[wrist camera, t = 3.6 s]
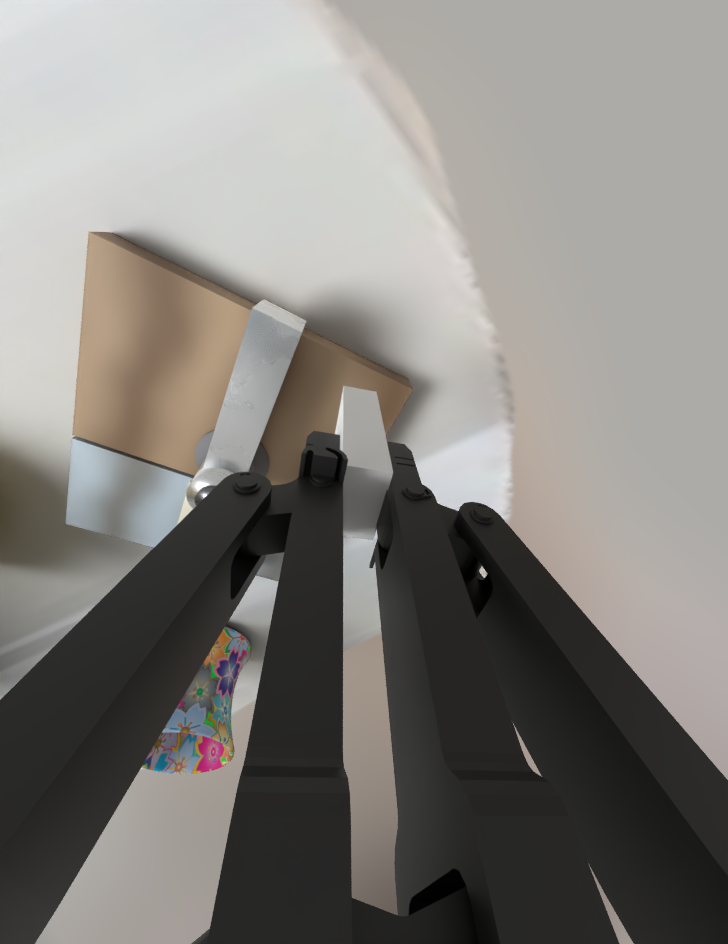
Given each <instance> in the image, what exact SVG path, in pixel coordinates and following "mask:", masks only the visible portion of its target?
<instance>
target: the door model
mask: <svg viewBox="0 0 728 944" xmlns="http://www.w3.org/2000/svg"><path fill="white" fill-rule="evenodd" d="M255 305H256V304H254V303H252V302H250V301H248V300H246V299H244V298H242V297H240V296H238V295H236V294H234V293H232V292H230V291H228V290H226V289H224V288H222V287H220V286H218V285H216V284H214V283H212V282H210V281H208V280H206V279H204V278H202V277H200V276H198V275H196V274H193V273H191V272H189V271H187V270H185V269H183V268H181V267H179V266H177V265H175V264H173V263H171V262H169V261H167V260H165V259H163V258H161V257H159V256H157V255H155V254H153V253H151V252H149V251H147V250H145V249H143V248H141V247H139V246H137V245H135V244H133V243H131V242H129V241H127V240H125V239H123V238H121V237H119V236H116V235H114V234H112V233H110V232H89V234H88V247H87V259H86V272H85V284H84V297H83V309H82V322H81V334H80V347H79V359H78V372H77V384H76V397H75V409H74V422H73V434H72V435H74V436H75V437H74V438H72V447H71V459H70V472H69V485H68V497H67V510H66V522H65V524H68V525H71V526H75V527H79V528H83V529H86V530H90V531H94V532H97V533H101V534H105V535H109V536H112V537H116V538H120V539H123V540H127V541H131V542H135V543H138V544H142V545H146V546H149V547H153V548H154V547H155V546H156V545H157V544H158V543H159V542H160V541H161V540H162V539H163V538H164V537H165V536H166V535H167V534H168V533H170V532H171V531H172V530H173V529H174V528H175V527H176V526H177V525H178V524H179V523H180V522H181V521H182V520H183V519H184V518H185V517H186V516H187V515H188V514H189V513H190V512H191V511H192V510H193V508H192V507H191V506H190V504H189V503H188V501H187V497H186V491H187V488H188V486H189V485H190V483H191V481H192V480H193V478H194V477H195V475H196V473H197V472H198V470H199V468H200V467H201V465H202V463H203V462H204V460H205V459H206V456H207V453H208V450H209V447H210V443H211V440H212V437H213V434H214V430H215V427H216V424H217V421H218V417H219V414H220V411H221V408H222V404H223V401H224V398H225V395H226V391H227V388H228V385H229V382H230V378H231V375H232V372H233V369H234V365H235V362H236V359H237V356H238V352H239V349H240V346H241V343H242V339H243V336H244V333H245V330H246V326H247V323H248V320H249V317H250V313H251V310H252V308H253V307H254V306H255ZM343 386H348V387H354V388H359V389H364V390H370V391H375V392H377V396H378V401H379V406H380V410H381V415H382V420H383V425H384V430H385V435H387V433H388V431H389V430H390V428H391V426H392V425H393V423H394V421H395V419H396V418H397V416H398V414H399V413H400V411H401V409H402V408H403V406H404V404H405V402H406V401H407V399H408V397H409V396H410V394H411V392H412V391H413V388H412V386H411V384H410V382H409V380H408V379H406V378H404V377H402V376H400V375H398V374H396V373H394V372H392V371H390V370H388V369H386V368H384V367H382V366H380V365H378V364H376V363H374V362H372V361H370V360H368V359H366V358H364V357H362V356H360V355H358V354H356V353H354V352H352V351H350V350H348V349H346V348H343V347H341V346H339V345H337V344H335V343H333V342H331V341H329V340H327V339H325V338H323V337H321V336H319V335H317V334H315V333H313V332H311V331H309V330H307V329H305V328H304V329H303V332H302V334H301V337H300V339H299V342H298V345H297V347H296V350H295V352H294V355H293V357H292V360H291V363H290V365H289V368H288V370H287V373H286V376H285V378H284V381H283V383H282V386H281V388H280V391H279V394H278V396H277V399H276V401H275V404H274V407H273V409H272V412H271V414H270V417H269V419H268V422H267V425H266V427H265V430H264V432H263V435H262V437H261V440H260V443H259V445H258V448H257V450H256V453H255V456H254V458H253V460H254V464H255V469H254V473H258V474H261V475H263V476H265V477H266V478H267V479H268V480H270V482H271V485H281V484H286V483H289V482H292V481H294V480H295V479H297V478H298V476H299V469H300V462H301V454H302V451H303V450H304V449H305V446H306V440H307V436H308V435H309V434H311V433H312V432H313V431H319V432H325V433H332V434H335V430H336V425H337V419H338V414H339V408H340V403H341V397H342V391H343ZM283 556H284V552H282V553H275V554H269V555H266V557H265V560H264V562H263V564H262V565H261V567H260V569H259V570H258V572H257V574H256V575H257V576H261V577H264V578H268V579H272V580H276V581H279V578H280V572H281V567H282V562H283Z"/></svg>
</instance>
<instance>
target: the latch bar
mask: <svg viewBox="0 0 728 944" xmlns="http://www.w3.org/2000/svg"><path fill="white" fill-rule="evenodd" d="M305 324H306V320H304V319H302V318H300V317H298V316H296V315H294V314H292V313H290V312H288V311H286V310H284V309H282V308H280V307H278V306H276V305H274V304H272V303H270V302H268V301H266V300H264V299H263V300H262V301H260V302H259V303H258V304H257V305H255V306H254V307H253V308H252V310H251V313H250V317H249V320H248V323H247V326H246V330H245V333H244V336H243V339H242V343H241V346H240V349H239V352H238V356H237V359H236V362H235V365H234V369H233V372H232V375H231V378H230V382H229V385H228V388H227V391H226V395H225V398H224V401H223V404H222V408H221V411H220V414H219V417H218V421H217V424H216V427H215V430H214V434H213V437H212V440H211V443H210V447H209V450H208V453H207V456H206V459H205V460H204V462H203V463H202V465H201V467H200V468H199V470H198V472H197V473H196V475H195V477H194V478H193V480H192V481H191V483H190V485H189V486H188V488H187V491H186V497H187V501H188V503H189V504H190V506H191V507H192V508H193V509H194V508H195V507H196V506H197V505H198V504H199V503H200V502H201V501H202V500H203V499H204V498H205V497H206V496H207V495H208V494H209V493H210V492H211V491H212V490H213V489H214V488H215V487H216V486H217V485H218V484H219V483H220V482H221V481H222V480H223V479H224V478H226V477H227V476H229V475H230V474H234V473H237V472H254V469H255V464H254V460H253V458H254V456H255V453H256V450H257V448H258V445H259V443H260V440H261V437H262V435H263V432H264V430H265V427H266V425H267V422H268V419H269V417H270V414H271V412H272V409H273V407H274V404H275V401H276V399H277V396H278V394H279V391H280V388H281V386H282V383H283V381H284V378H285V376H286V373H287V370H288V368H289V365H290V363H291V360H292V357H293V355H294V352H295V350H296V347H297V345H298V342H299V339H300V337H301V334H302V332H303V329H304V327H305Z"/></svg>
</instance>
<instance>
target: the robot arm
mask: <svg viewBox="0 0 728 944" xmlns="http://www.w3.org/2000/svg"><path fill="white" fill-rule="evenodd" d="M376 529H377V534H378V539H377V542H376V546H375V549H374V552H373V555H372V559H371V562H370V567H369V568H373V565H374V563H375V564H376V575H377V586H378V597H379V608H380V619H381V630H382V641H383V653H384V663H385V674H386V686H387V697H388V706H389V707H388V708H389V719H390V730H391V741H392V752H393V763H394V774H395V786H396V796H397V807H398V830H397V838H396V845H395V883H396V895H397V908H398V915H394V914H392V913H389V912H387V911H384V910H382V909H379V908H377V907H374V906H371V905H369V904H366V903H364V902H361V901H358V900H356V899H353V898H352V896H351V816H350V815H351V813H350V792H349V785H348V777H347V775H346V772H345V769H344V764H343V536H345V537H353V538H361V539H370V540H373V539H374V536H375V532H376ZM282 552H284V556H283V562H282V567H281V572H280V578H279V583H278V588H277V593H276V599H275V604H274V609H273V615H272V620H271V625H270V630H269V636H268V641H267V646H266V651H265V657H264V662H263V667H262V673H261V678H260V683H259V688H258V694H257V699H256V704H255V710H254V715H253V720H252V726H251V731H250V736H249V742H248V747H247V752H246V757H245V761H244V766H243V769H242V772H241V776H240V780H239V784H238V788H237V793H236V798H235V803H234V808H233V813H232V818H231V823H230V828H229V834H228V839H227V844H226V849H225V854H224V859H223V864H222V870H221V875H220V880H219V885H218V890H217V895H216V900H215V905H214V911H213V916H212V921H211V926H210V929H209V930H208V931H206V932H205V933H204V934H203V935H202V936H201V937H199V938H198V939H197V940H195V941H194V942H193V943H192V944H619V942H618V939H617V937H616V934H615V931H614V929H613V926H612V924H611V921H610V919H609V916H608V913H607V911H606V908H605V906H604V903H603V901H602V898H601V895H600V893H599V890H598V888H597V885H596V883H595V880H594V877H593V875H592V873H591V869H592V870H593V872H594V874H595V876H596V878H597V880H598V882H599V884H600V885H601V887H602V889H603V891H604V893H605V895H606V896H607V898H608V900H609V902H610V903H611V905H612V907H613V908H614V910H615V912H616V914H617V915H618V917H619V919H620V921H621V922H622V924H623V926H624V927H625V929H626V931H627V933H628V935H629V936H630V938H631V939H632V941H633V943H634V944H728V780H727V779H726V778H725V777H724V775H723V774H722V773H721V772H720V771H719V770H718V769H717V767H716V766H715V765H714V764H713V763H712V762H711V760H710V759H709V758H708V757H707V756H706V755H705V753H704V752H703V751H702V750H701V749H700V748H699V746H698V745H697V744H696V743H695V742H694V741H693V740H692V738H691V737H690V736H689V735H688V734H687V733H686V732H685V730H684V729H683V728H682V727H681V726H680V725H679V723H678V722H677V721H676V720H675V719H674V717H673V716H672V715H671V714H670V713H669V712H668V710H667V709H666V708H665V707H664V706H663V705H662V703H661V702H660V701H659V700H658V699H657V698H656V696H655V695H654V694H653V693H652V692H651V691H650V690H649V688H648V687H647V686H646V685H645V684H644V683H643V681H642V680H641V679H640V678H639V677H638V676H637V674H636V673H635V672H634V671H633V670H632V669H631V667H630V666H629V665H628V664H627V663H626V662H625V660H624V659H623V658H622V657H621V656H620V655H619V653H617V651H616V650H615V649H614V648H613V647H612V645H611V644H610V643H609V642H608V641H607V640H606V638H605V637H604V636H603V635H602V634H601V633H600V631H599V630H598V629H597V628H596V627H595V626H594V624H592V622H591V621H590V620H589V619H588V618H587V616H586V615H585V614H584V613H583V612H582V610H581V609H580V608H579V607H578V606H577V605H576V603H575V602H574V601H573V600H572V599H571V598H570V597H569V595H568V594H567V593H566V592H565V591H564V590H563V589H562V587H561V586H560V585H559V584H558V583H557V581H556V580H555V579H554V578H553V577H552V576H551V574H550V573H549V572H548V571H547V570H546V569H545V567H543V565H542V564H541V563H540V562H539V561H538V559H537V558H536V557H535V556H534V555H533V554H532V552H531V551H530V550H529V549H528V548H527V547H526V545H525V544H524V543H523V542H522V541H521V540H520V538H519V537H518V536H517V535H516V534H515V533H514V531H513V530H512V529H511V528H510V527H509V526H508V524H507V523H506V522H505V521H504V520H503V519H502V518H501V516H500V515H499V514H498V513H496V512H495V511H494V510H493V509H491V508H489V507H488V506H486V505H484V504H480V503H475V502H468V503H464V504H463V505H462V506H461V507H460V509H459V511H456V510H453V509H450V508H447V507H445V506H442V505H440V504H438V503H437V501H436V499H435V496H434V494H433V493H432V491H431V490H430V489H428V488H427V487H426V486H424V485H422V484H421V481H420V477H419V474H418V471H417V468H416V465H415V461H414V458H413V455H412V452H411V451H410V450H409V449H408V448H407V447H406V446H405V444H399V443H393V442H387V440H386V435H385V430H384V425H383V420H382V415H381V410H380V406H379V401H378V396H377V392H375V391H370V390H364V389H359V388H354V387H348V386H343V391H342V397H341V403H340V408H339V414H338V419H337V425H336V430H335V434H332V433H325V432H319V431H313V432H312V433H311V434H309V435H308V436H307V440H306V446H305V449H304V450H303V451H302V454H301V462H300V469H299V476H298V478H297V479H295V480H294V481H292V482H289V483H286V484H281V485H271V482H270V480H268V479H267V478H266V477H265V476H263V475H261V474H258V473H254V472H237V473H234V474H230V475H229V476H227V477H226V478H224V479H223V480H222V481H221V482H220V483H219V484H218V485H217V486H216V487H215V488H214V489H213V490H212V491H211V492H210V493H209V494H208V495H207V496H206V497H205V498H204V499H203V500H202V501H201V502H200V503H199V504H198V505H197V506H196V507H195V508H194V509H193V510H192V511H191V512H190V513H189V514H188V515H187V516H186V517H185V518H184V519H183V520H182V521H181V522H180V523H179V524H178V525H177V526H176V527H175V528H174V529H173V530H172V531H171V532H170V533H168V534H167V535H166V536H165V537H164V538H163V539H162V540H161V541H160V542H159V543H158V544H157V545H156V546H155V547H154V548H153V549H152V550H151V551H150V552H149V553H148V554H147V555H146V556H145V557H144V558H143V559H142V560H141V561H140V562H139V563H138V564H137V565H136V566H135V567H134V568H133V569H132V570H131V571H130V572H129V573H128V574H127V575H126V576H125V577H124V578H123V579H122V580H121V581H120V582H119V583H118V584H117V585H116V586H115V587H114V588H113V589H112V590H111V591H110V592H109V593H108V594H107V595H106V596H105V597H104V598H103V599H102V600H101V601H100V602H99V603H98V604H97V605H96V606H95V607H94V608H93V609H92V610H91V611H90V612H89V613H88V614H87V615H86V616H85V617H84V618H83V619H82V620H81V621H80V622H79V623H78V624H77V625H76V626H75V627H74V628H73V629H72V630H71V631H70V632H69V633H68V634H67V635H66V636H65V637H64V638H63V639H61V640H60V641H59V642H58V643H57V644H56V645H55V646H54V647H53V648H52V649H51V650H50V651H49V652H48V653H47V654H46V655H45V656H44V657H43V658H42V659H41V660H40V661H39V662H38V663H37V664H36V665H35V666H34V667H33V668H32V669H31V670H30V671H29V672H28V673H27V674H26V675H25V676H24V677H23V678H22V679H21V680H20V681H19V682H18V683H17V684H16V685H15V686H14V687H13V688H12V689H11V690H10V691H9V692H8V693H7V694H6V695H5V696H4V697H3V698H2V699H1V700H0V944H35V942H36V941H37V939H38V937H39V936H40V934H41V933H42V931H43V930H44V928H45V927H46V925H47V923H48V921H49V920H50V919H51V917H52V916H53V914H54V912H55V911H56V909H57V908H58V906H59V904H60V903H61V901H62V899H63V897H64V896H65V894H66V892H67V891H68V889H69V887H70V886H71V884H72V882H73V881H74V879H75V877H76V876H77V874H78V872H79V871H80V869H81V867H82V866H83V864H84V862H85V861H86V859H87V857H88V855H89V854H90V852H91V850H92V849H93V847H94V846H95V844H96V842H97V840H98V839H99V837H100V835H101V834H102V832H103V830H104V829H105V827H106V825H107V824H108V822H109V820H110V819H111V817H112V815H113V814H114V812H115V810H116V808H117V807H118V805H119V803H120V802H121V800H122V799H123V796H124V795H125V794H126V792H127V790H128V788H129V787H130V785H131V783H132V782H133V780H134V778H135V777H136V775H137V773H138V772H139V770H140V768H141V767H142V765H143V763H144V762H145V760H146V758H147V757H148V755H149V753H150V752H151V750H152V748H153V747H154V745H155V743H156V742H157V740H158V738H159V737H160V735H161V733H162V731H163V730H164V728H165V726H166V725H167V723H168V721H169V720H170V718H171V716H172V715H173V713H174V711H175V710H176V708H177V706H178V705H179V703H180V701H181V700H182V698H183V696H184V695H185V693H186V691H187V690H188V688H189V686H190V685H191V683H192V681H193V679H194V678H195V676H196V674H197V673H198V671H199V669H200V668H201V666H202V664H203V663H204V661H205V659H206V658H207V656H208V654H209V653H210V651H211V649H212V648H213V646H214V644H215V643H216V641H217V639H218V638H219V636H220V634H221V633H222V631H223V629H224V628H225V626H226V624H227V622H228V621H229V619H230V617H231V616H232V614H233V612H234V611H235V609H236V607H237V606H238V604H239V602H240V601H241V599H242V597H243V596H244V594H245V592H246V591H247V589H248V587H249V586H250V584H251V582H252V581H253V579H254V577H255V576H256V574H257V572H258V570H259V569H260V567H261V565H262V564H263V562H264V560H265V557H266V555H269V554H275V553H282ZM481 566H483V568H484V569H485V571H486V572H487V576H486V577H485V578H483V576H482V575H481V574H480V572H479V569H480V568H481ZM512 722H513V723H514V725H515V727H516V729H517V731H518V733H519V735H520V736H521V738H522V740H523V742H524V744H525V746H526V748H527V750H528V751H529V753H530V755H531V757H532V759H533V761H534V763H535V764H536V766H537V768H538V770H539V772H540V774H541V776H542V777H541V776H539V775H538V774H536V773H535V772H533V770H532V769H531V768H530V767H529V765H528V763H527V761H526V759H525V757H524V754H523V752H522V749H521V746H520V743H519V740H518V737H517V734H516V731H515V728H514V725H513V723H512ZM587 861H588V862H587ZM588 863H589V864H588ZM589 865H590V867H591V869H590V867H589Z"/></svg>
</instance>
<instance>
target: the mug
mask: <svg viewBox="0 0 728 944" xmlns="http://www.w3.org/2000/svg"><path fill="white" fill-rule="evenodd" d="M250 655H251V646H250V643H249V642H248V640H247V639H246V638H245V637H244V636H243V635H242V634H240V633H239V632H237V631H235V630H233V629H231V628H228V627H225V628H224V629H223V631H222V633H221V634H220V636H219V638H218V639H217V641H216V643H215V644H214V646H213V648H212V649H211V651H210V653H209V654H208V656H207V658H206V659H205V661H204V663H203V664H202V666H201V668H200V669H199V671H198V673H197V674H196V676H195V678H194V679H193V681H192V683H191V685H190V686H189V688H188V690H187V691H186V693H185V695H184V696H183V698H182V700H181V701H180V703H179V705H178V706H177V708H176V710H175V711H174V713H173V715H172V716H171V718H170V720H169V721H168V723H167V725H166V726H165V728H164V730H163V731H162V733H161V735H160V737H159V738H158V740H157V742H156V743H155V745H154V747H153V748H152V750H151V752H150V753H149V755H148V757H147V758H146V760H145V762H144V763H143V765H142V767H143V768H146V769H149V770H154V771H158V772H164V773H176V774H190V773H191V774H192V773H202V772H207V771H212V770H215V769H218V768H220V767H223V766H224V765H226V764H227V763H228V762H229V761H231V759H232V758H233V756H234V745H233V738H232V730H231V707H232V698H233V693H234V688H235V685H236V681H237V678H238V676H239V674H240V671H241V669H242V668H243V666H244V664H245V663H246V662H247V660H248V659H249V657H250Z"/></svg>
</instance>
